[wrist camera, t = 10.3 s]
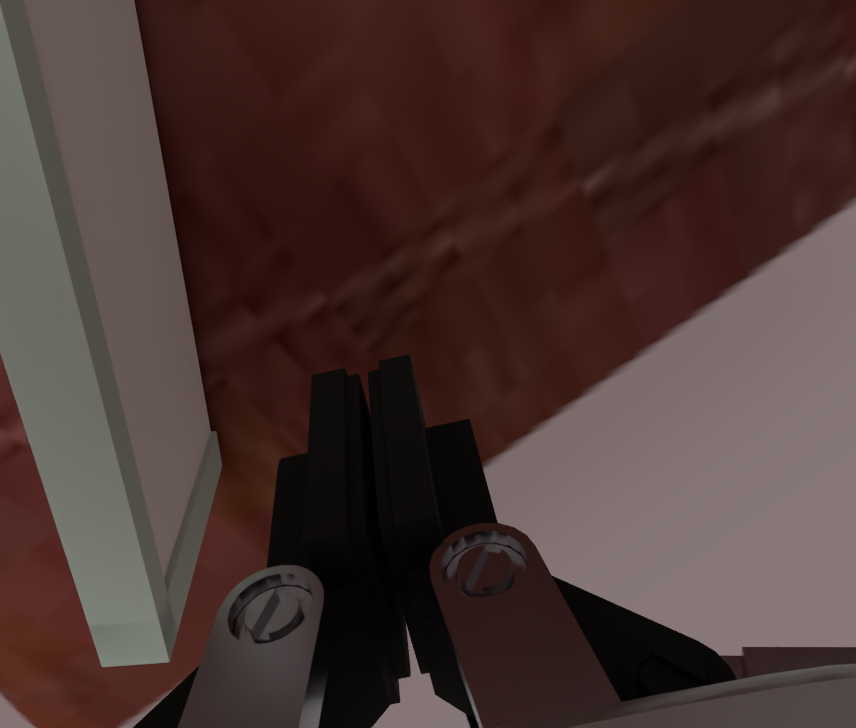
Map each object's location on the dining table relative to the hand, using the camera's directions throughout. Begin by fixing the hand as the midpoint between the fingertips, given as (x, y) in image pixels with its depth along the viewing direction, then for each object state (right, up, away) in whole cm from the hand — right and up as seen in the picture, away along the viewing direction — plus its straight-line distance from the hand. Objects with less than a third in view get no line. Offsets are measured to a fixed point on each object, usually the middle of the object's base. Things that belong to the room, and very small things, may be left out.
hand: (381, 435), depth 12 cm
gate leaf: (-8, +6, +11) cm, 15 cm away
